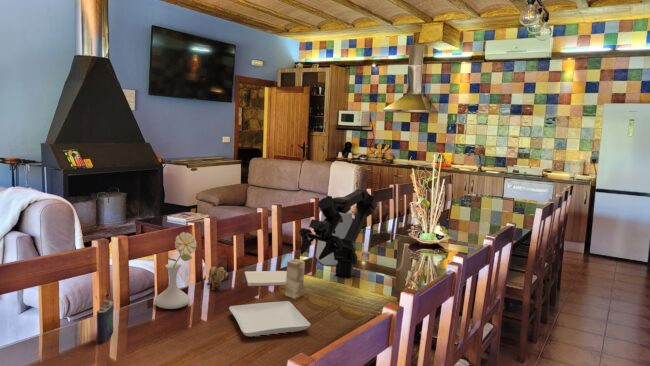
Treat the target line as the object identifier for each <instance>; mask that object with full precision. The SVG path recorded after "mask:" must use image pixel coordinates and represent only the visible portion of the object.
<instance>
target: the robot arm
mask: <svg viewBox="0 0 650 366" xmlns="http://www.w3.org/2000/svg"><path fill="white" fill-rule="evenodd" d="M355 204H356V213H355V215H354V218H352V224H351V226H350V228H349V230H348V232H347V234H346V236H345V238H343V239H341V238H339V237H338V236H334V235H332V234H335V233H336V231H335V229H336V227H337V226H338V224H339V222H341V223H343V219H342V216H341V215H340V213H345V214H346V213H347V212H348V211H349V210H350V211H351V207H353V206H354V205H355ZM317 206H318V208H319V210H320V212H321V214H323V216H324V217H326V218H325V219H324V221H321V220H317V219H312V218H311V219H310V223H309V225H308V227H309V228H311V229H313V230H312V231H313V232H312V231H311V229H309V228H305V227H302V228H300V230H299V232H298V234H299V236H300V237H301V247H300V251H299V254H300V255H304V253H305V252H306V251H307V250H308V249H309V247H310V246H311V245H312V242H314V240H317V241H318V240H319V241H323V242H326V245H325V247H324V249H323V251H322V252H321V254H320V256H319V260H321V259H323V258H324V257H326V256H327V255H329V254H331V253H333V252H334V260H337V261H338V262H337V264H336V266H335V274H334V275H335V276H336V277H340V278H346V279H351V278H352V277H353V276H354V275H355V273H354V272H353V271H354V265H355V264H357V262H358V255H357V253H356V245H355V244H356V242H357V240H358V237H359V235H360V233H361V232H362V228H363V226H364V224H365V222H366V220H367V218H369V217H370V216H371V215H373V213H375V210H376V209H377V206H378V202H377V199H376V198H375V197H374V196H373V195H371V193H369V192H368V191H367V190H366V189H361V188H360V189H359V188H358V189H355V190H354V191H352V192H351V193H349V194H347V195H344V196H336V197H333V196H332V195H326V197H323V198H321V199H320V200H319V201H318V203H317ZM319 260H318V261H319Z"/></svg>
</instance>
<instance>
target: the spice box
mask: <svg viewBox="0 0 650 366" xmlns="http://www.w3.org/2000/svg"><path fill="white" fill-rule="evenodd" d="M305 268H306V261H304V260H301V259H297V258H293V259H291V260H287V261H286V271H287V275H286V285H285V291H284V293H285V294H284V296H286V297H289V298H292V299H294V300H295V299H298V298H300V297H303V295H304V282H305Z"/></svg>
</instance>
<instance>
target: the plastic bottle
mask: <svg viewBox="0 0 650 366" xmlns="http://www.w3.org/2000/svg"><path fill="white" fill-rule="evenodd" d="M340 215H341V216H342V219H343V223H341V222H339V224H338V226H337V227H336V229H335V231H336V233H335V234H332V235H334V236H338V237H339V238H341V239H343V238H345V236H346V234H347V232H348V230H349V228H350V226H351V224H352V222H353V212H352V211H351V209H350V210H349V211H348V212H347V213H346V214H345V213H340ZM320 216H321V217H320V221H324V219H325V218H326V217H324V216H323V214H322V213H321V215H320ZM325 245H326V242H323V241H319V240H317V243H316V252H315V259H317V261H319V262H320V264H322V265H324V266H327V267H328V266H329V267H331V266H332V267H333V266H334V267H336V264H337V262H338V261H337V260H334V252H333V253H331V254H329V255H327V256H326V257H324V258H323V259H321V260H319V256H320V254H321V252H322V251H323V249H324V247H325Z"/></svg>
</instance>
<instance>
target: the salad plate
mask: <svg viewBox="0 0 650 366" xmlns="http://www.w3.org/2000/svg"><path fill="white" fill-rule="evenodd" d="M228 309H229V311H230V313H231V314H232V316H233V317H234V318H235V320H236V322H237V324H238V326H239V328H240V331H241V332H242V333H243V335H244V336H246V337H252V338H253V336H254V337H261V336H260V335H267V336H270V335H269V334H276V335H279V334H278V333H284V334H287V333H286V332H291V333H294V332H300V331H301V332H302V331H304V330H306V329H308V328H309V327H311V325H312V324H311V323H310V322H309V321H308V319H306V317H304V316H303V314H301V312H300V311H299V310H298V309H297V308H296V307H295V306H294V304H293V303H292V302H291V301H286V300H285V301H272V302H261V303H259V302H258V303H248V304H239V305H238V304H237V305H230V306H229V308H228Z"/></svg>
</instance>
